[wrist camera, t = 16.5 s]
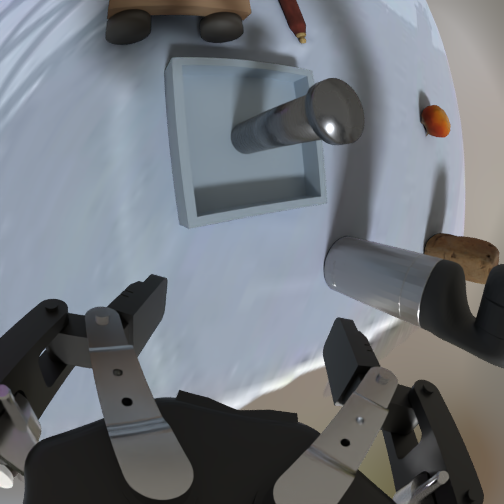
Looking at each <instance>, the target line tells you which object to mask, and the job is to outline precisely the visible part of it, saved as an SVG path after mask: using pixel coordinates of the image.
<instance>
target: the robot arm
mask: <svg viewBox="0 0 504 504" xmlns="http://www.w3.org/2000/svg"><path fill="white" fill-rule="evenodd" d="M324 274H325V280H326V283H327V284H328V286H329V287H330V288H331V289H333V290H335V291H337V292H339V293H341V294H344V295H346V296H348V297H350V298H353V299H355V300H357V301H360V302H362V303H364V304H366V305H369V306H371V307H373V308H376V309H378V310H380V311H383V312H385V313H387V314H390V315H392V316H394V317H397V318H399V319H401V320H404V321H406V322H408V323H411V324H413V325H415V326H418V327H420V328H423V329H425V330H427V331H429V332H431V333H433V334H434V335H436V336H437V337H439V338H441V339H442V340H445V341H447V342H449V343H451V344H453V345H455V346H457V347H459V348H461V349H464V350H465V351H467V352H469V353H471V354H473V355H475V356H477V357H478V358H480V359H482V360H484V361H487V362H488V363H491V364H493V365H495V366H498V367H501V368H504V264H500V265H497V266H494V267H493V268H492V269H491V271H490V272H489V275H488V278H487V281H486V284H485V288H484V292H483V296H482V299H481V303H480V307H479V310H478V313H477V317H476V318H475V317H474V316H473V315H472V313H471V312H470V309H469V305H468V302H467V296H466V283H465V274H464V270H463V268H462V267H461V265H459V264H458V263H456V262H453V261H449V260H445V259H441V258H437V257H433V256H429V255H425V254H421V253H417V252H413V251H409V250H405V249H401V248H397V247H393V246H388V245H384V244H380V243H376V242H371V241H368V240H363V239H359V238H354V237H347V236H346V237H343V238H341V239H339V240H338V241H337V242H335V243H334V245H333V246H332V247H331V249H330V251H329V253H328V255H327V258H326V261H325V268H324ZM166 293H167V278H164V277H161V276H157V275H153V274H151V275H150V276H149V277H148V278H147V279H146V280H145V281H144V282H140V281H138V282H135V283H133V284H130V285H129V286H128V287H127V288H126V289H125V291H123V292H122V293H121V294H120V295H119V296H118V297H117V298H116V299H115V300H114V301H112V302H111V303H110V304H109V305H108V306H107V307H95V308H92V309H90V310H89V311H87V312H86V314H85V315H77V314H71V313H68V307H67V304H66V303H65V302H63V301H61V300H58V299H48V300H44V301H42V302H41V303H39V304H38V305H37V306H36V307H35V308H33V309H32V310H31V311H30V312H29V313H27V314H26V315H25V316H24V317H23V318H22V319H21V320H19V321H18V322H17V323H16V324H15V325H14V326H13V327H12V328H11V329H9V330H8V331H7V332H6V333H5V334H4V335H3V336H2V337H1V338H0V464H1V465H8V466H10V467H11V468H12V469H14V470H15V471H17V472H18V473H19V474H21V475H22V476H24V479H25V493H24V500H23V504H482V503H483V499H484V494H483V490H482V488H481V484H480V482H479V479H478V477H477V473H476V471H475V468H474V466H473V463H472V461H471V458H470V456H469V453H468V451H467V449H466V446H465V444H464V442H463V439H462V437H461V435H460V433H459V431H458V428H457V426H456V424H455V422H454V420H453V418H452V416H451V414H450V412H449V410H448V408H447V406H446V404H445V402H444V400H443V398H442V396H441V394H440V392H439V390H438V389H437V387H436V386H435V385H433V384H432V383H430V382H428V381H426V380H418V381H416V382H415V384H414V385H413V386H412V388H410V387H406V386H403V385H399V384H398V380H397V378H396V376H395V375H394V374H393V373H392V372H391V371H389V370H388V369H385V368H383V367H380V365H379V362H378V360H377V358H376V356H375V354H374V352H373V350H372V348H371V346H370V344H369V341H368V339H367V338H366V337H365V336H364V335H363V334H362V333H361V332H360V331H358V330H357V328H356V326H355V324H354V322H353V320H350V319H344V318H339V317H338V318H336V320H335V321H334V324H333V326H332V328H331V331H330V333H329V335H328V338H327V340H326V342H325V345H324V349H323V358H324V362H325V366H326V370H327V374H328V379H329V383H330V388H331V392H332V397H333V401H334V405H337V406H343V407H342V408H341V410H340V411H339V412H338V414H337V415H336V416H335V418H334V419H333V420H332V421H331V422H330V424H329V425H328V426H327V427H326V429H325V430H324V431H323V432H322V433H321V434H320V433H319V432H318V431H316V430H315V429H313V428H311V427H309V426H307V425H305V424H302V423H300V422H298V417H297V413H290V412H282V411H274V410H236V409H233V408H231V407H229V406H226V405H224V404H222V403H219V402H217V401H215V400H212V399H210V398H208V397H204V396H200V395H196V394H192V393H188V392H185V391H181V390H179V392H178V395H177V397H176V398H172V397H164V398H156V399H154V398H153V395H152V393H151V391H150V389H149V386H148V384H147V381H146V379H145V376H144V374H143V371H142V369H141V366H140V364H139V361H138V358H137V357H138V356H139V354H140V352H141V351H142V349H143V348H144V346H145V345H146V343H147V341H148V340H149V338H150V337H151V335H152V334H153V332H154V331H155V329H156V327H157V326H158V324H159V323H160V321H161V320H162V318H163V315H164V311H165V304H166ZM45 348H46V350H45V351H44V352H43V354H42V355H41V356H40V354H41V352H42V351H43V350H44V349H45ZM39 356H40V357H39ZM75 366H80V367H86V368H92V369H93V374H94V379H95V384H96V389H97V393H98V397H99V401H100V405H101V409H102V413H103V416H104V418H103V419H100V420H98V421H95V422H92V423H90V424H87V425H84V426H81V427H78V428H76V429H73V430H70V431H67V432H64V433H61V434H58V435H55V436H51V437H48V438H46V439H43V440H41V441H40V442H39V438H40V435H41V425H40V422H39V418H40V417H41V415H42V414H43V412H44V410H45V409H46V407H47V406H48V404H49V403H50V401H51V400H52V398H53V397H54V395H55V394H56V392H57V391H58V389H59V388H60V386H61V385H62V384H63V382H64V381H65V379H66V378H67V376H68V375H69V374H70V372H71V371H72V369H73V368H74V367H75ZM418 424H419V426H420V429H421V432H422V438H421V441H420V442H419V444H418V442H417V439H416V436H415V433H414V430H413V429H414V428H415V427H416V426H417V425H418ZM379 430H382V432H383V436H384V439H385V444H386V448H387V452H388V456H389V461H390V465H391V470H392V474H393V479H394V484H395V489H396V494H395V495H394V497H393V499H391V498H390V497H389V496H388V495H387V494H385V493H384V492H383V491H382V490H381V489H380V488H378V487H377V486H376V485H375V484H374V483H373V482H372V481H370V480H369V479H368V478H367V477H366V476H365V475H364V474H363V473H362V472H360V471H359V470H358V468H359V466H360V464H361V463H362V461H363V459H364V458H365V456H366V454H367V453H368V451H369V449H370V447H371V446H372V444H373V442H374V440H375V438H376V436H377V434H378V432H379Z"/></svg>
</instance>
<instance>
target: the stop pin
mask: <svg viewBox="0 0 504 504" xmlns="http://www.w3.org/2000/svg"><path fill="white" fill-rule="evenodd" d="M363 128H364V112H363V108H362V105H361V102H360V100H359V98H358V96H357V94H356V93H355V91H354V90H353V89H352V88H351V87H350V86H349V85H348V84H347V83H345V82H344V81H342V80H340V79H336V78H329V79H326V80H323V81H320V82H318V83H315V84H314V85H312V86H311V87H310V88H309V90H308V92H307V94H306V95H304V96H302V97H299V98H296V99H294V100H291V101H289V102H286V103H284V104H281V105H279V106H276V107H274V108H272V109H269V110H267V111H265V112H262V113H260V114H258V115H256V116H253V117H251V118H249V119H247V120H245V121H243V122H240V123H238V124H237V125H236V126H235V127H234V128H233V129H232V132H231V142H232V144H233V146H234V148H235V149H236V150H237V151H238V152H240V153H242V154H252V153H257V152H261V151H266V150H270V149H275V148H280V147H285V146H290V145H295V144H300V143H306V142H311V141H317V140H323V141H324V142H326V143H328V144H331V145H342V144H350V143H353V142H355V141H356V140H358V139H359V137H360V136H361V134H362V131H363Z"/></svg>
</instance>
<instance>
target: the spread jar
mask: <svg viewBox="0 0 504 504" xmlns="http://www.w3.org/2000/svg"><path fill="white" fill-rule="evenodd" d="M17 474H18V472H17V471H15V470H14V469H12V468H11V467H10V466H8V465H1V464H0V487H2V488H11V487H12V486H13V477H15V476H17Z"/></svg>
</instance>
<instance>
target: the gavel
mask: <svg viewBox="0 0 504 504" xmlns="http://www.w3.org/2000/svg"><path fill="white" fill-rule="evenodd" d="M279 1H280V4H281V6H282V9H283V11H284V14H285V17H286V19H287V22H288V25H289V27H290V29H291V30H292V31H293V33H294V34H295V35H296V37H297V38H299V39H300V40H299V41H300V43H306V39H305V38H304V37H305V36H306V24H305V21H304V19H303V16H302V14H301V11H300V9H299V6H298V4H297V1H296V0H279Z"/></svg>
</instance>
